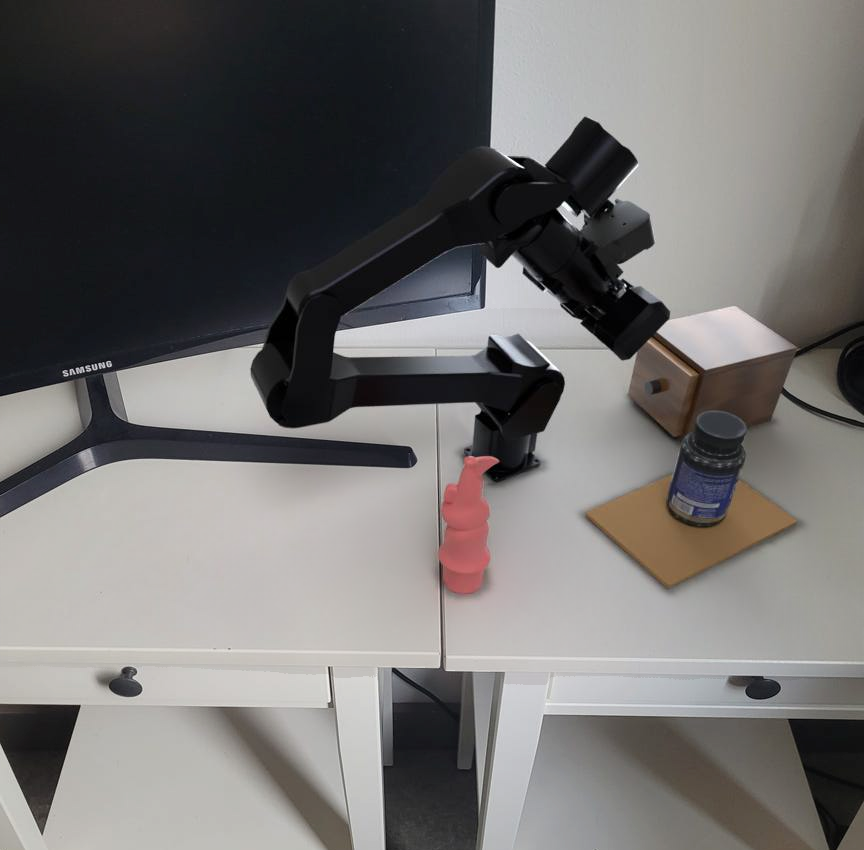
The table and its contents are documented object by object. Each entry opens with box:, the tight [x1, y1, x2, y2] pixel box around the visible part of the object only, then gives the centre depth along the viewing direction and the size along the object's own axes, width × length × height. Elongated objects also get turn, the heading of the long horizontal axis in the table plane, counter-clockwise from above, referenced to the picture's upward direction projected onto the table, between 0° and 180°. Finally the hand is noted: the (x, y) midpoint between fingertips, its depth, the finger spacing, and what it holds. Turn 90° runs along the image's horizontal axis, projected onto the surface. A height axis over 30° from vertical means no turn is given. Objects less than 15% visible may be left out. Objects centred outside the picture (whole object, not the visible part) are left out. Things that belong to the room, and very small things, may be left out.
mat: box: [584, 473, 798, 590], centre depth 85 cm, size 18×12×1 cm, turn 120°
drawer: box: [627, 337, 699, 438], centre depth 96 cm, size 13×9×8 cm
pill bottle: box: [666, 411, 748, 527], centre depth 82 cm, size 6×6×11 cm
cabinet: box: [652, 305, 798, 443], centre depth 97 cm, size 13×11×10 cm
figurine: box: [437, 456, 499, 595], centre depth 74 cm, size 5×5×15 cm
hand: (629, 330), depth 88 cm, fingers closed
